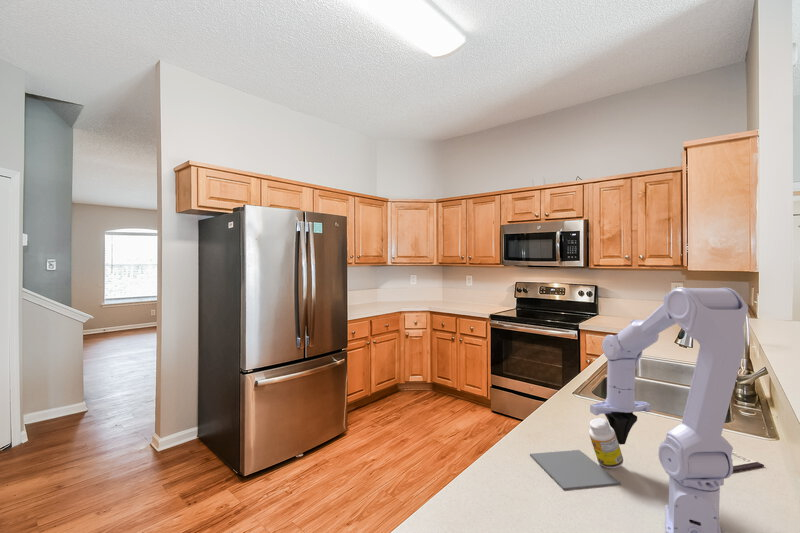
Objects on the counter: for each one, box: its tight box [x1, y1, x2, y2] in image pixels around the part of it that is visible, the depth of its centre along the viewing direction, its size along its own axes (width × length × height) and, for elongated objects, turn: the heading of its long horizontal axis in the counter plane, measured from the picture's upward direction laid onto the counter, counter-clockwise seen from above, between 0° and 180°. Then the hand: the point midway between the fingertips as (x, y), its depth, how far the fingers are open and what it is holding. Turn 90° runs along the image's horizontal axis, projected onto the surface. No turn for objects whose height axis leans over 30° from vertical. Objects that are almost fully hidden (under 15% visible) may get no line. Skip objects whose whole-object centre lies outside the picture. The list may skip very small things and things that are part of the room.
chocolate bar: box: [731, 450, 765, 474], centre depth 90 cm, size 9×1×18 cm
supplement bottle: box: [588, 417, 624, 469], centre depth 87 cm, size 6×6×10 cm
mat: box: [529, 449, 621, 491], centre depth 86 cm, size 14×14×1 cm
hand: (619, 442), depth 88 cm, fingers closed
